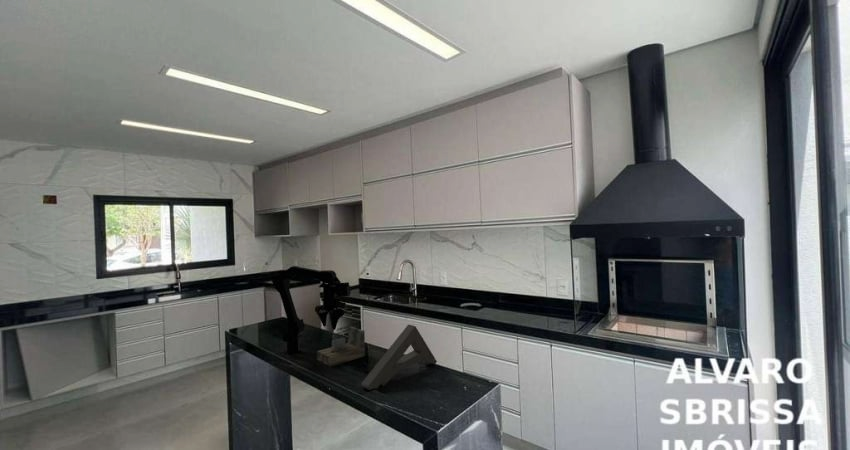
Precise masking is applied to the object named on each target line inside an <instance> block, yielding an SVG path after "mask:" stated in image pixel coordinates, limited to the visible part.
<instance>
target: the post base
mask: <svg viewBox="0 0 850 450" xmlns="http://www.w3.org/2000/svg"><path fill="white" fill-rule="evenodd" d="M365 332H366V331H365V330H364V329H360V328H357V327H354V326H351V325H349V326H347V343H346V350H342V351H339V352H335V353H332V346H331V347H327V348H324V349H321V350H317V351H316V352H317V357H316V358H317V361H318V362H320V363H323V364H324V365H326V366H328V367H330V368H332V367H334V366H337V365H340V364H344V363H346V362H350V361H353V360H356V359H360V358H362V357H365V356H366V355H365V354H366V353H365V352H366V348H365V346H366V345H365V344H366V343H365V341H366V340H365V337H366V335H365Z"/></svg>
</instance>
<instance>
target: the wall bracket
mask: <svg viewBox="0 0 850 450" xmlns="http://www.w3.org/2000/svg"><path fill="white" fill-rule="evenodd" d="M410 346H411V348H412V349H413V350H412V351H410V352H408V353H407V354H405V353H406V352H407V350H408V349H409V348H410ZM437 361H438V360H437V359H436V358H435V356H434V354H433V353H432V351H431V349H430V348H429V346H428V344H427V343H426V341H425V339H424V337H423V336H422V335H421V333H420V331H419V329H418V328H417V325H416V326H415V325H413V324H407V325H406V327H405V328H404V329H403V331H402V332H401V333H400V334H399V336H397V338H396V339H395V340H394V342H393V343H392V344H391V345H390V347H389V348H388V349H387V351H385V353H384V355H383V356H382V357H381V358H380V359H379V360H378V362H377V363H376V364H375V365H374V367H373V368H372V369H371V370H370V372H369V373H368V374H367V375H366V376H365V378H364V379H363V380H362V382H361V383H360V385H361V386H362V387H363V388H364V389H367V391H371V390H375V389H378V388H380V386H382V387H385V386H386V384H387V383H388V382H389V381H390V380H392V378H393V377H394V376H396V374H398V373H400V372H401V371H402V370H403V369H404V368H407V367H409V366H411V365H414V364H417V363H421V362H423V363H426V364H428V365H432V364H435V365H436V364H437ZM430 363H431V364H430Z"/></svg>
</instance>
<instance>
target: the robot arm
mask: <svg viewBox="0 0 850 450" xmlns="http://www.w3.org/2000/svg"><path fill="white" fill-rule="evenodd" d="M295 276H300V277H306V278H311V279H315V280H316V281H319V282H321V283H320V285H319V286H318V288H322V298H321V302H322V304H320V305H316V306H315V307H314V312H316V315H317V316H318V318H319V321H320V323H321V325H322V326H323V327H324V328H325V327H326V326H327V318H329V321H330V326H331V328H332V330H333V331H335V330H336V329H337V326H338V323H339V320H340V318H341V317H343V316H345V308H346V304H347V303H346V302H342V301H340V300H341V299H339V298H337V297H350V295H351V293H352V288H351V285H350V282H349V281H346V282H341V280H340V279H339V277H338V276H337V273H336V271H335V270H331V269H329V270H327V269H326V270H317V269H311V268H306V267H300V266H297V265H293V266H290V267H289V268H288V269H286V270H284V271H283V272H281V273H279V274H276V275H274V276H273V277H272V279H271V282H272V285H273V286H274V289H275V290H276V291H277V292H278V293H279V296H280V299H281V302H282V307H283V309H284V313H285V317H286V319H287V324H286V331H287V332H286V333H285V334H284V335H283V336H282V340H283V342H285V344H286V346H285V349H284V350H283V352H284V353H285V354H287V355H293V354H297V353H300V352H302V349H301V348H299V346H300V345H299V338H301V337H302V334H303V333H304V332H305V331H306V330H305V327H306V325H305V323H304V319H303V318H301V319H300V318H299V317H298V314H297V311H296V308H295V303H294V300H293V298H292V294H291V290H290V289H291V288H290V287H291V279H293V278H294V277H295ZM336 296H337V297H336ZM328 314H329V317H328Z"/></svg>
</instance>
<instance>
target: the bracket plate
mask: <svg viewBox="0 0 850 450" xmlns="http://www.w3.org/2000/svg"><path fill="white" fill-rule="evenodd" d="M331 347H332V353H335V352H339V351H342V350H346V337H340V338H336V339H332V340H331Z"/></svg>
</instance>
